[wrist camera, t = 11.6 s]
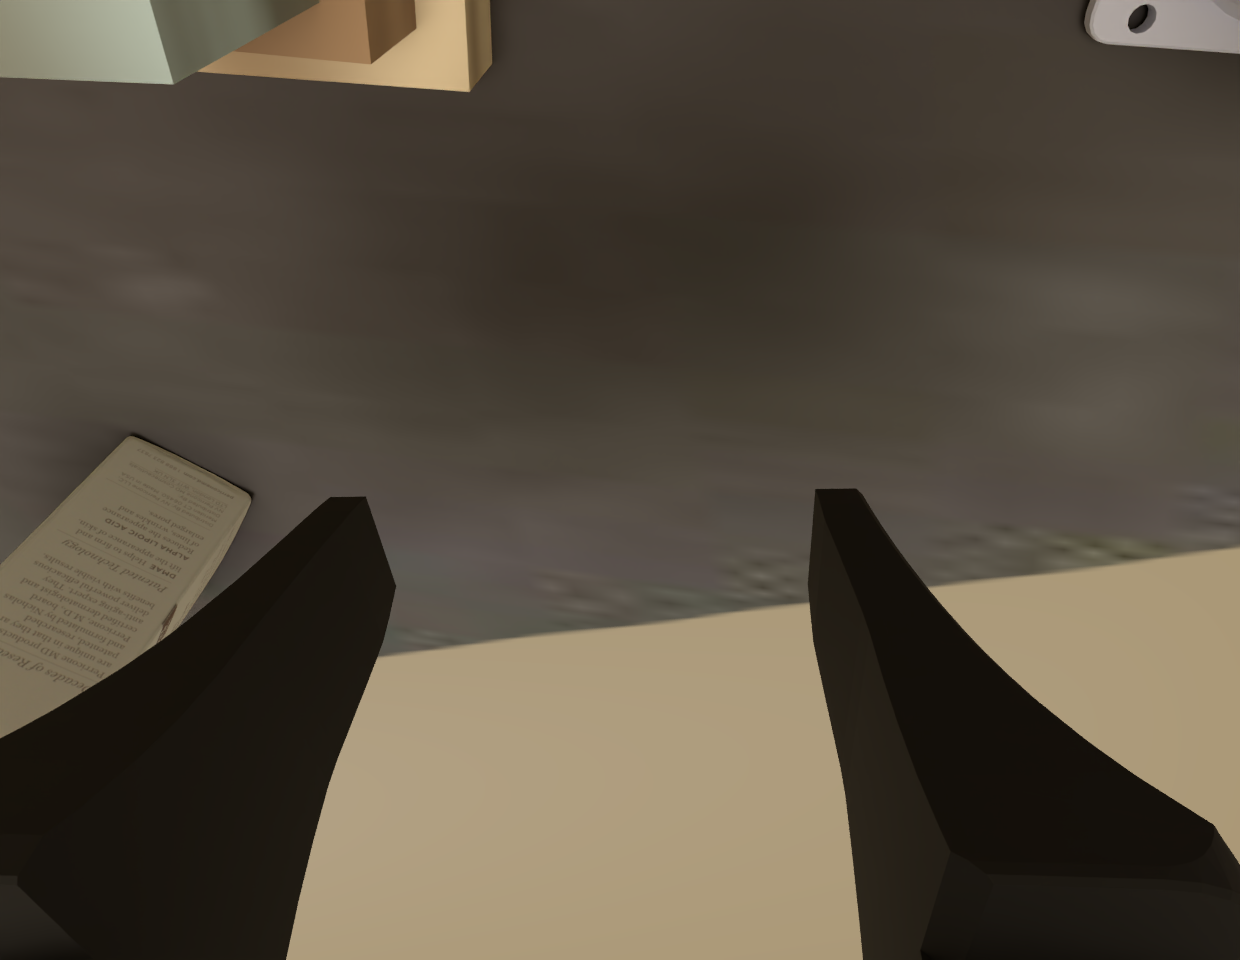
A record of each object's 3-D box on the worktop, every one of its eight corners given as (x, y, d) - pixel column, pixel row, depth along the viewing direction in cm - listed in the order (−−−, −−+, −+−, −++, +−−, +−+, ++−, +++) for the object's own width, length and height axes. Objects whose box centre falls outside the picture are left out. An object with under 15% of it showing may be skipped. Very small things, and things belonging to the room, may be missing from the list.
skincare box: (205, 593, 31) (-13, 941, 21) (79, 536, 30) (-214, 882, 20) (261, 487, 28) (31, 845, 18) (121, 418, 26) (-206, 766, 17)
